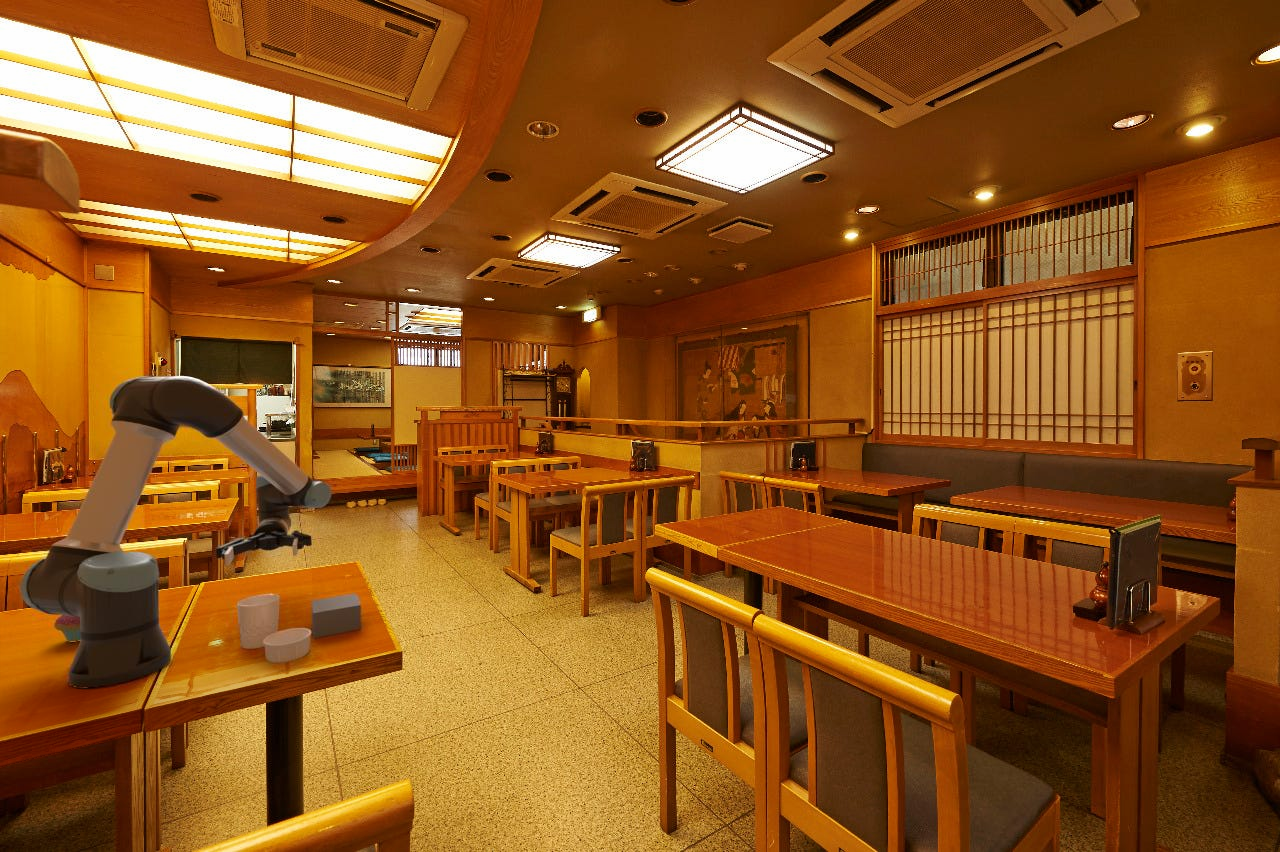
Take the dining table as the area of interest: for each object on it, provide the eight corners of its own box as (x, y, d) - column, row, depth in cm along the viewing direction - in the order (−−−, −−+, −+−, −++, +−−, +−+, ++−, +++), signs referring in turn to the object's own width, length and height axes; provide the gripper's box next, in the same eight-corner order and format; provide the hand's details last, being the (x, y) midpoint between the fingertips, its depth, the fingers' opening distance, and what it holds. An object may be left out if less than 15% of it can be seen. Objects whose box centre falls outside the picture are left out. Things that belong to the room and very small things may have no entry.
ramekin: (311, 658, 117) (310, 639, 116) (261, 668, 112) (260, 648, 112) (312, 643, 124) (312, 624, 124) (265, 652, 120) (265, 632, 120)
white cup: (288, 636, 128) (287, 594, 128) (261, 651, 120) (260, 606, 120) (257, 635, 129) (256, 593, 128) (228, 649, 121) (228, 605, 120)
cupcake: (109, 628, 132) (107, 579, 132) (105, 639, 126) (104, 588, 125) (58, 637, 127) (56, 587, 126) (51, 650, 120) (49, 596, 120)
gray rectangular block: (313, 638, 127) (312, 613, 126) (311, 624, 135) (311, 600, 135) (361, 629, 132) (360, 604, 132) (356, 616, 140) (356, 593, 140)
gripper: (323, 540, 156) (321, 561, 138) (215, 554, 144) (197, 579, 126) (322, 514, 156) (319, 532, 137) (213, 527, 144) (195, 548, 125)
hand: (261, 555), depth 132 cm, fingers open, 13 cm apart
